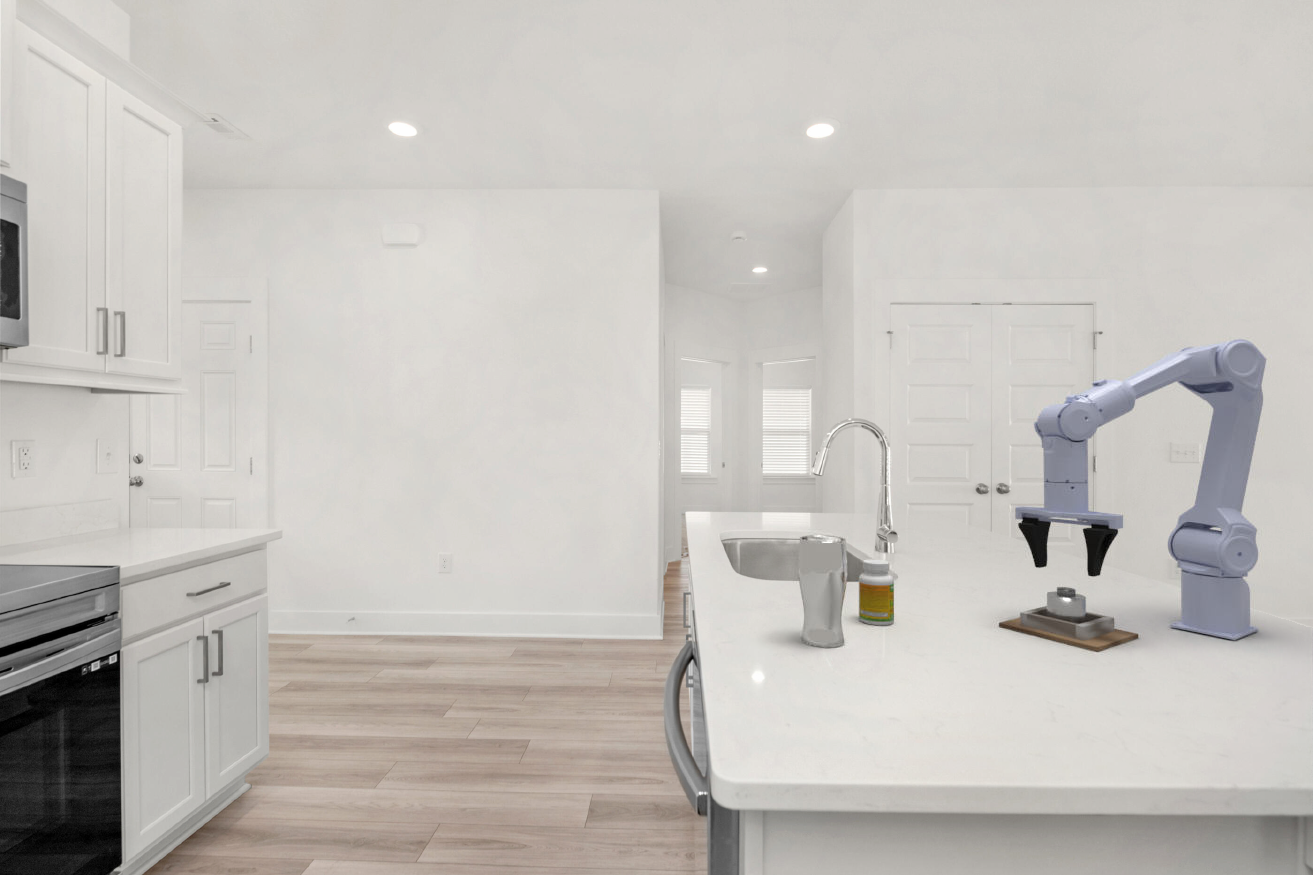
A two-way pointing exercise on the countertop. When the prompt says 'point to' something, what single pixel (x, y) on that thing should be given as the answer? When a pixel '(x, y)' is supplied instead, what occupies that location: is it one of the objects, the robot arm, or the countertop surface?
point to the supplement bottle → (876, 593)
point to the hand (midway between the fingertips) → (1066, 571)
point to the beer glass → (822, 588)
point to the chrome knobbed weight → (1066, 605)
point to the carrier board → (1071, 629)
